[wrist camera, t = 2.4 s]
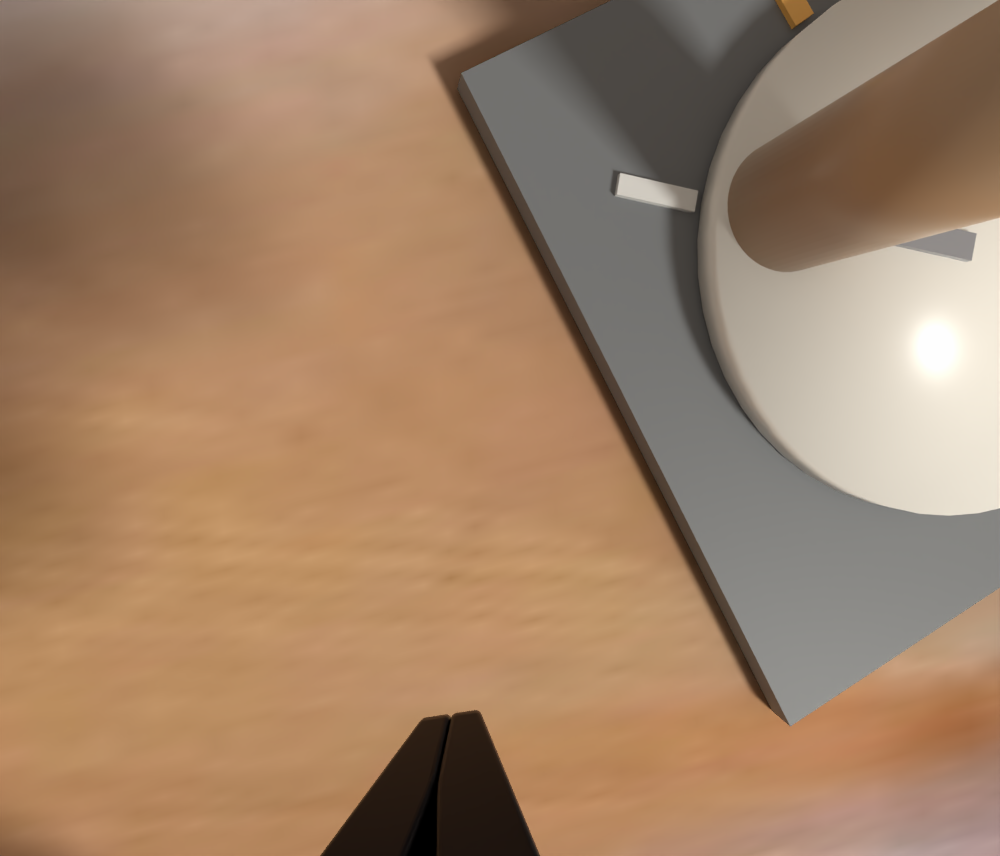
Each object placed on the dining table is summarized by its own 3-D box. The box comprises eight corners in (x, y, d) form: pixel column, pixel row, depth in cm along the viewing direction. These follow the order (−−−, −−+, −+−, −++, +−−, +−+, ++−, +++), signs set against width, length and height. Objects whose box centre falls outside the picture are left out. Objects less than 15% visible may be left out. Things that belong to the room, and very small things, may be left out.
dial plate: (1253, 394, 25) (1297, 395, 24) (772, 711, 22) (794, 729, 21) (1047, -199, 22) (1085, -232, 21) (457, 88, 19) (462, 69, 18)
